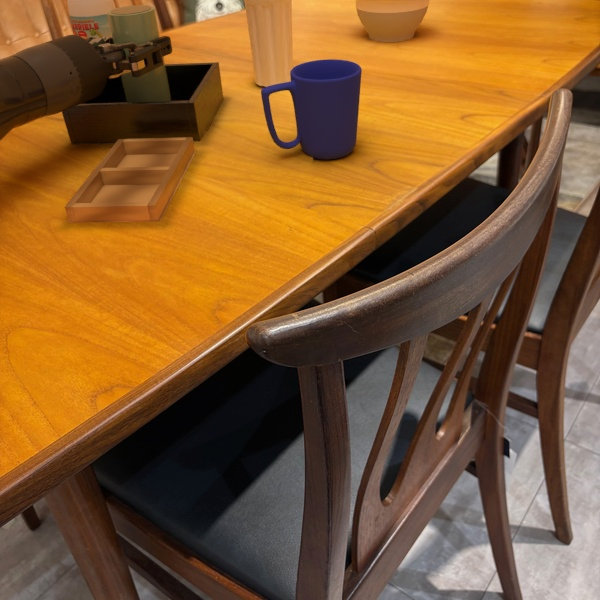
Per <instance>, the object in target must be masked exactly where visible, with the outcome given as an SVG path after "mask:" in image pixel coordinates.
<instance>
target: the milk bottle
mask: <svg viewBox="0 0 600 600" xmlns="http://www.w3.org/2000/svg"><path fill="white" fill-rule="evenodd" d="M66 3H67V10H68V16H69V20H70V24H71V29H72V32H73V35H77V36H80V37H82V38H84V39H88V38H89V37H93V38H96V39H100V38H102V37H108V38H111V37H112V35H111V31H110V26H109V22H108V17H107V12H108V11H109V10H112V9H115V8H117V6H116V3H115V1H114V0H67V2H66Z"/></svg>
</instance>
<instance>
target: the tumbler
mask: <svg viewBox="0 0 600 600" xmlns="http://www.w3.org/2000/svg"><path fill="white" fill-rule="evenodd" d="M107 17H108V22H109V26H110V31H111V35H112V40H113V44H117V43H122V42H127V41H131V42H133V43H135V44H139V43H144V42H146V41H151V40H154V39H157V38H159V37H161V34H160V27H159V22H158V17H157V11H156V7H155V6H154V5H149V4H136V5H135V4H134V5H125V6H120V7H119V6H118V7H116V8H115V9H112V10H109V11H108V12H107ZM123 50H124V51H125V53H126V57H127V59H128V55H129V50H128V48H126V49H123ZM140 50H141V49H140ZM138 51H139V50H138ZM162 58H163V64H164V65H162V66H160V67H158V68H156V69H154V70H152V71H150V72H148V73H146V74H144V75H142V76H140V77H138V78H135V77H132V74H131V72H130V73H125V74H121V80H122V84H123V89H124V93H125V98H126V102H158V101H171V94H170V88H169V83H168V77H167V72H166V66H165V64H166V62H165V61H166V60H165V56H163V57H162Z"/></svg>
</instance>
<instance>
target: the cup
mask: <svg viewBox="0 0 600 600" xmlns="http://www.w3.org/2000/svg"><path fill="white" fill-rule="evenodd" d="M292 1H293V0H243V2H244V7H245V15H246V23H247V28H248V29H247V30H248V37H249V43H250V51H251V57H252V65H253V72H254V81H255V84H256V85H258V86H259V87H264V88H265V87H268V86H271V85H275V84H280V83H286V82H291V77H290V72H291V70H292V69H293V68H294V49H293V46H294V45H293V12H292V11H293V8H292V7H293V4H292Z"/></svg>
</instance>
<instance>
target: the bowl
mask: <svg viewBox="0 0 600 600" xmlns="http://www.w3.org/2000/svg"><path fill="white" fill-rule="evenodd" d="M429 5H430V0H355V9H356V14H357V17H358V18H359V22H360V23H361V25H362V26H363V28H364V29H365V30H366V32H367V34H368V39H370V40H371V41H375V42H381V43H397V42H403V41H404V42H405V41H408V40H411V39H412V38H414V37H415V32H416V30H417V29H418V28H419V26H420V25H421V24H422V22H423V20H424V18H425V16H426V14H427V12H428V8H429Z"/></svg>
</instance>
